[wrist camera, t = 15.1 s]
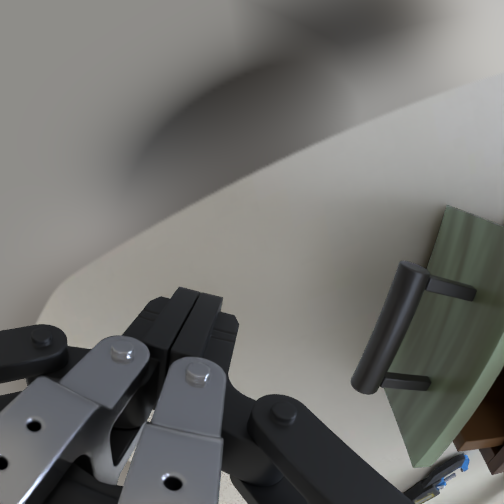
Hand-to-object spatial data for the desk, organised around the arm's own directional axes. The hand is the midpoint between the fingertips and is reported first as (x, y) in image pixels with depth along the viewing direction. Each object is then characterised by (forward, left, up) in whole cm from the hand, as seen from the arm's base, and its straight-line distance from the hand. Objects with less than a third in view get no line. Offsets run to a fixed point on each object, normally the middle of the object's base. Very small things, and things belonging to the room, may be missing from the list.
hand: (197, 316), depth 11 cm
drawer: (+16, 0, -7) cm, 17 cm away
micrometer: (+25, -21, -8) cm, 33 cm away
